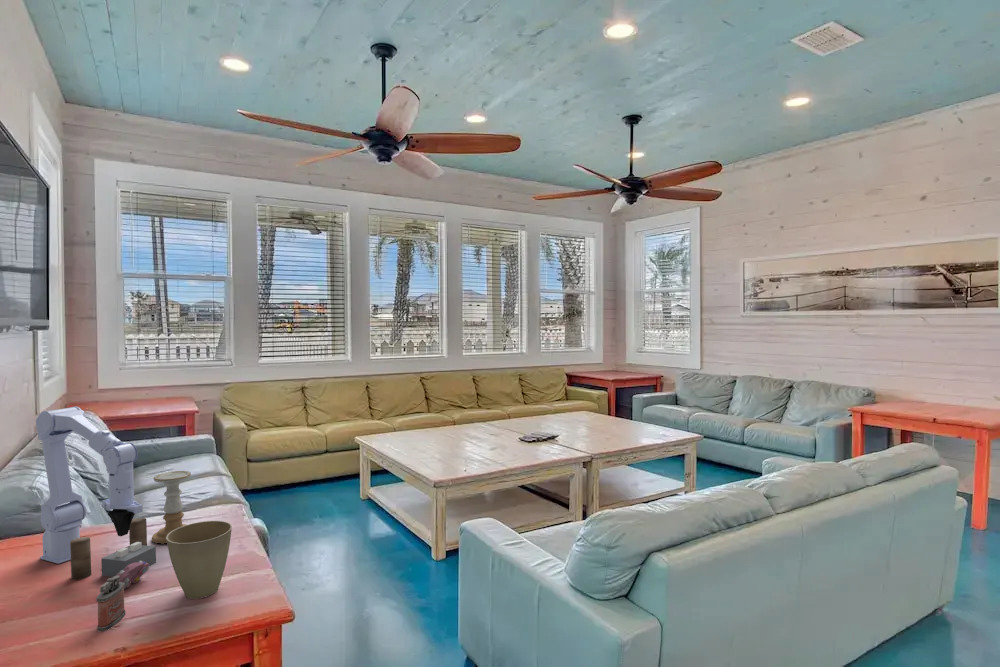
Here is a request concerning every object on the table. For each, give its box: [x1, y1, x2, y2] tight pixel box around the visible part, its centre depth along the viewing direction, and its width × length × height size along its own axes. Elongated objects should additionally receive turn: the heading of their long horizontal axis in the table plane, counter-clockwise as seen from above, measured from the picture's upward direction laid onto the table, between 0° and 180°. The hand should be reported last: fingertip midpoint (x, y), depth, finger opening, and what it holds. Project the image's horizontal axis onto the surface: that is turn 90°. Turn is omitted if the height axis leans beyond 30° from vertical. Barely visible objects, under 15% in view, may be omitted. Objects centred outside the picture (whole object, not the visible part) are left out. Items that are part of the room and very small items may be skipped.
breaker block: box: [101, 542, 157, 578], centre depth 160 cm, size 8×10×7 cm
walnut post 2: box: [128, 517, 148, 546], centre depth 170 cm, size 4×4×10 cm
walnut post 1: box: [70, 536, 92, 581], centre depth 156 cm, size 4×4×10 cm
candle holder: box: [151, 470, 192, 545], centre depth 183 cm, size 12×12×20 cm
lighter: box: [95, 576, 126, 632], centre depth 132 cm, size 8×3×10 cm, turn 5°
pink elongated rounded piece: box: [116, 560, 151, 590], centre depth 150 cm, size 10×5×7 cm, turn 169°
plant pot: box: [166, 520, 233, 600], centre depth 146 cm, size 15×15×16 cm
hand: (122, 534), depth 161 cm, fingers closed
